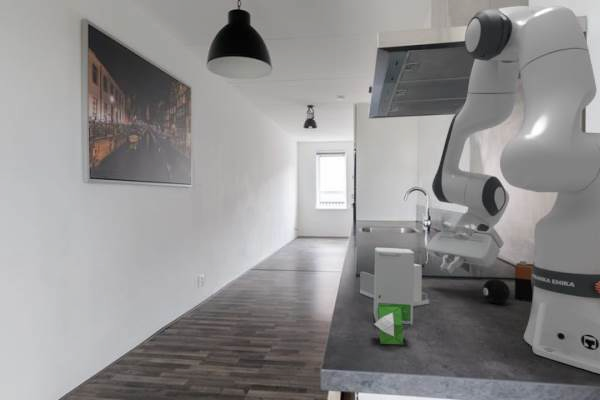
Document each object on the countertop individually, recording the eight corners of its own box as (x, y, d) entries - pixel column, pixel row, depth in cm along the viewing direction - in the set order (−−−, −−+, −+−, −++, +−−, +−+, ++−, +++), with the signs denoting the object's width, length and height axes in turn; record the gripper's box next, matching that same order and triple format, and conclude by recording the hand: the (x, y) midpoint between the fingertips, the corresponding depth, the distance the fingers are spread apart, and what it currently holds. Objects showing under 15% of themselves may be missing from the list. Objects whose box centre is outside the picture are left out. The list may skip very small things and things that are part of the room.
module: (421, 301, 92) (421, 262, 92) (402, 304, 90) (402, 264, 90) (410, 297, 96) (410, 260, 96) (392, 299, 94) (392, 262, 93)
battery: (545, 303, 94) (545, 264, 94) (514, 299, 98) (514, 261, 98) (546, 299, 97) (546, 262, 97) (516, 295, 101) (516, 259, 101)
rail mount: (429, 303, 94) (429, 280, 94) (398, 308, 89) (398, 284, 89) (388, 289, 108) (388, 268, 108) (360, 293, 104) (360, 271, 104)
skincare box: (374, 322, 80) (374, 251, 79) (373, 313, 86) (373, 246, 86) (414, 324, 78) (415, 251, 78) (410, 314, 85) (410, 247, 85)
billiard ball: (478, 299, 97) (478, 277, 97) (499, 299, 98) (499, 276, 98) (492, 306, 91) (492, 282, 91) (514, 305, 92) (515, 281, 92)
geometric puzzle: (369, 320, 75) (372, 295, 70) (404, 321, 74) (409, 296, 69) (372, 353, 69) (375, 329, 64) (409, 354, 69) (415, 330, 64)
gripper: (436, 222, 111) (411, 257, 107) (498, 228, 93) (472, 270, 89) (446, 236, 114) (423, 271, 109) (510, 244, 95) (484, 286, 91)
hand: (445, 270), depth 99 cm, fingers closed
